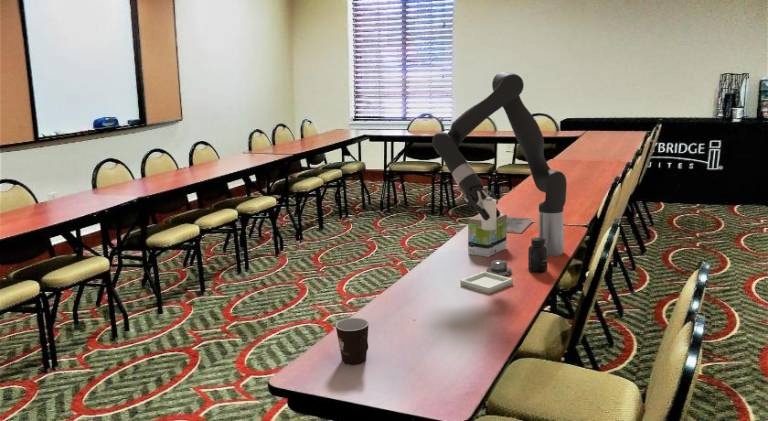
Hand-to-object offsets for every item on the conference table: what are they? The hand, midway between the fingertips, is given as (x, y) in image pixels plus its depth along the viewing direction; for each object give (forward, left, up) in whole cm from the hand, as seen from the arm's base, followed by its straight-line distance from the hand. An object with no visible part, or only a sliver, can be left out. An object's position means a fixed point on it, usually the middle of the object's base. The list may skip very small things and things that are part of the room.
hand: (493, 217), depth 223 cm
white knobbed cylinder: (0, -2, -4) cm, 5 cm away
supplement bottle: (-19, +5, -23) cm, 30 cm away
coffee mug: (+74, +14, -23) cm, 79 cm away
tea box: (-27, -25, -23) cm, 43 cm away
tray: (+5, +1, -23) cm, 23 cm away
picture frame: (-65, -44, -24) cm, 81 cm away
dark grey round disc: (-8, -4, -23) cm, 24 cm away
